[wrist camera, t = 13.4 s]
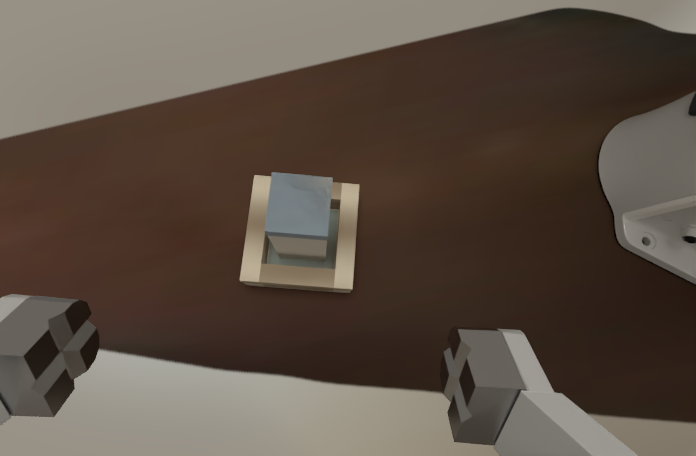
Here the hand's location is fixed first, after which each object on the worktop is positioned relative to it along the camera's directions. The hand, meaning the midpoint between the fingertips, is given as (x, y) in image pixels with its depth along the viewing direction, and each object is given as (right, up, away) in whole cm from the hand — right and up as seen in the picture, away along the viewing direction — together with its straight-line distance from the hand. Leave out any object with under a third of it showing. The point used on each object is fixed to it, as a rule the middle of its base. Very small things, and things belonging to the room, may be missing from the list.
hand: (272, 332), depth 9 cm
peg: (-2, +1, +26) cm, 26 cm away
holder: (-2, +1, +27) cm, 27 cm away
